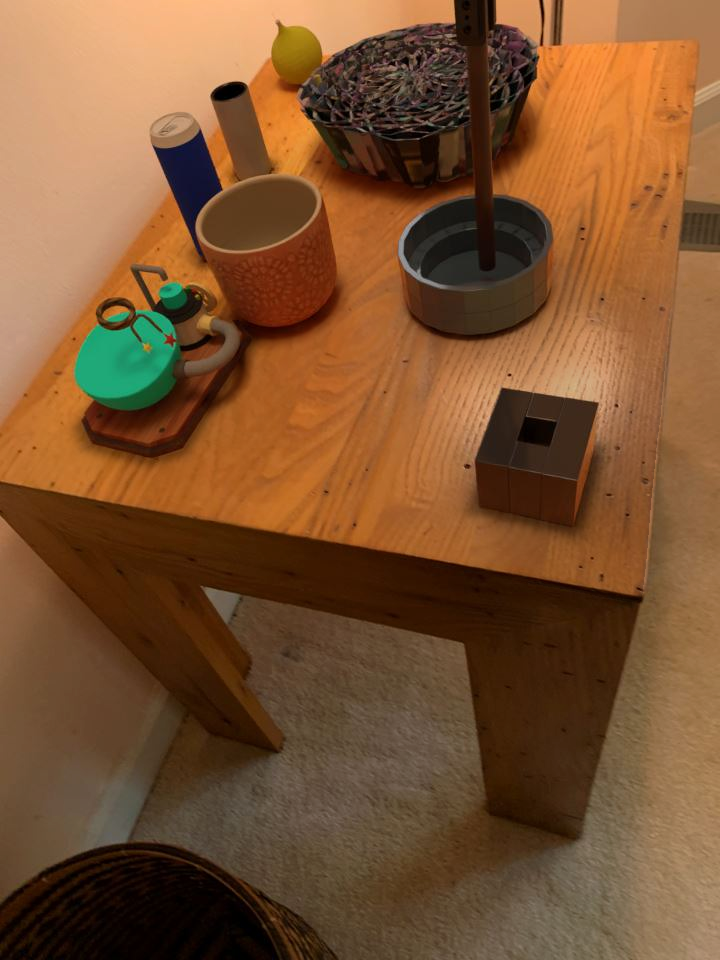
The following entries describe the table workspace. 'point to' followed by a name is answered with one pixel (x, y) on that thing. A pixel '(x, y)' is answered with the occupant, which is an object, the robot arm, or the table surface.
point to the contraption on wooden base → (156, 367)
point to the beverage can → (185, 165)
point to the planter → (270, 248)
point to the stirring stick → (481, 152)
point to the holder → (536, 455)
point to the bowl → (476, 265)
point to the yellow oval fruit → (295, 53)
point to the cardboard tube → (241, 129)
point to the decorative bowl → (415, 101)
